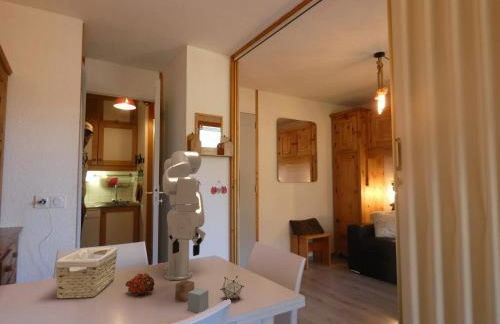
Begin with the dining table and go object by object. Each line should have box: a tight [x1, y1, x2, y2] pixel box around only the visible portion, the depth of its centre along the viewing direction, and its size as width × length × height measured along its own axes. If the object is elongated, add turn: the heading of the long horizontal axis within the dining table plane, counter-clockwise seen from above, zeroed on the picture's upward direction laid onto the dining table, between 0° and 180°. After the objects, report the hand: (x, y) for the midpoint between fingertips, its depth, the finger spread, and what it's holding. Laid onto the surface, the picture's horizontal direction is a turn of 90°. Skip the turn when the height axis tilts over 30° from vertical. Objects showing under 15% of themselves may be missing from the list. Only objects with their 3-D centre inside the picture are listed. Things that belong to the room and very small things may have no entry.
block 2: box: [187, 287, 209, 314], centre depth 101 cm, size 5×5×6 cm
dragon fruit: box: [125, 272, 156, 297], centre depth 116 cm, size 8×8×12 cm
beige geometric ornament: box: [219, 275, 245, 300], centre depth 110 cm, size 9×8×10 cm
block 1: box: [174, 279, 195, 303], centre depth 110 cm, size 5×5×6 cm
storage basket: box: [55, 246, 118, 299], centre depth 122 cm, size 24×16×15 cm
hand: (185, 254), depth 111 cm, fingers open, 9 cm apart
